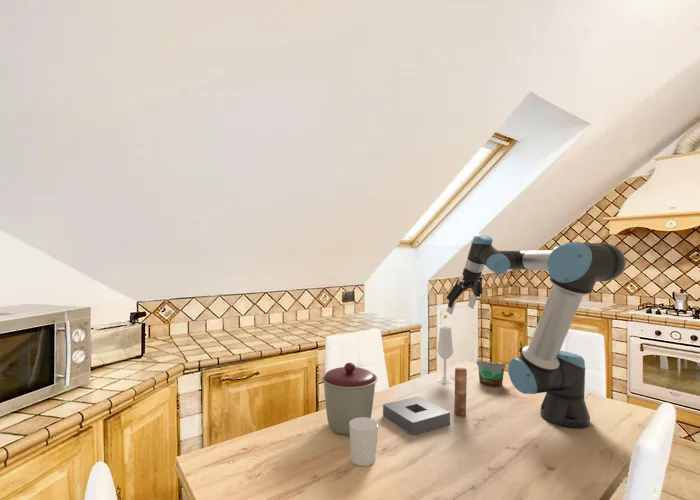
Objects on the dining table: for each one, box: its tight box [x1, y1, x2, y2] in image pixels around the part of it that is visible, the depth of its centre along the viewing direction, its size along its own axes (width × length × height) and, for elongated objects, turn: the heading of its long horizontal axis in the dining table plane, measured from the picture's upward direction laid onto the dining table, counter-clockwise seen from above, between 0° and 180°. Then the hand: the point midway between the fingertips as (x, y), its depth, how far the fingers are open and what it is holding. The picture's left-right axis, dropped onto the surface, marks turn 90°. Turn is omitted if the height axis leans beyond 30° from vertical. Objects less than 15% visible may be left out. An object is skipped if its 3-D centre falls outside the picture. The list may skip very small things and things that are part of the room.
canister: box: [321, 362, 379, 436], centre depth 124 cm, size 18×18×21 cm
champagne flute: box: [436, 325, 454, 385], centre depth 170 cm, size 7×7×24 cm
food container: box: [476, 359, 507, 388], centre depth 166 cm, size 12×6×10 cm, turn 62°
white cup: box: [349, 417, 379, 467], centre depth 105 cm, size 8×8×10 cm
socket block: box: [382, 395, 451, 436], centre depth 130 cm, size 16×16×4 cm
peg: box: [453, 367, 468, 418], centre depth 135 cm, size 4×4×16 cm
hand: (460, 309), depth 172 cm, fingers open, 13 cm apart
